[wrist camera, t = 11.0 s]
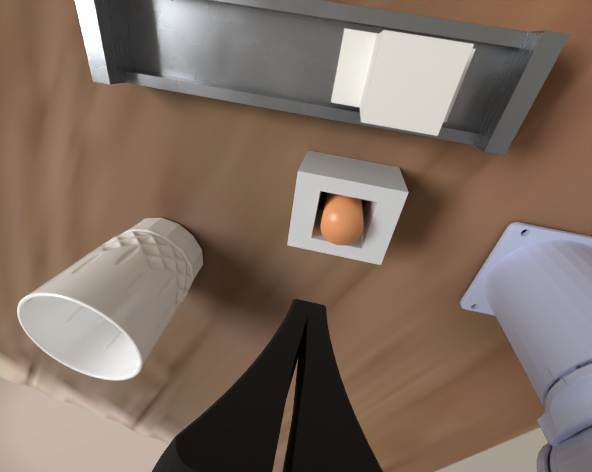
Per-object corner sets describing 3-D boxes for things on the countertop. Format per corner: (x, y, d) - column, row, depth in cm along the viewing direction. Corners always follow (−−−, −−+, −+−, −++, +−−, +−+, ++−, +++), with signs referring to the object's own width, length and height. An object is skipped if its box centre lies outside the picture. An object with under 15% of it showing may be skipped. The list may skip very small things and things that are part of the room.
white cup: (227, 255, 25) (164, 355, 17) (181, 295, 29) (111, 393, 21) (151, 191, 23) (36, 270, 15) (112, 243, 27) (3, 329, 18)
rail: (530, 37, 14) (570, 34, 12) (481, 139, 17) (504, 156, 14) (114, -26, 16) (65, -42, 13) (130, 77, 19) (92, 81, 16)
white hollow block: (399, 167, 19) (408, 192, 15) (376, 231, 21) (380, 264, 18) (307, 150, 19) (298, 170, 16) (297, 215, 22) (287, 245, 19)
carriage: (467, 49, 14) (522, 47, 9) (440, 118, 16) (475, 145, 11) (345, 29, 15) (340, 19, 10) (332, 99, 16) (322, 118, 12)
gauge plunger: (366, 182, 19) (368, 213, 16) (357, 214, 21) (357, 249, 17) (330, 175, 19) (324, 204, 16) (323, 207, 21) (317, 240, 17)
